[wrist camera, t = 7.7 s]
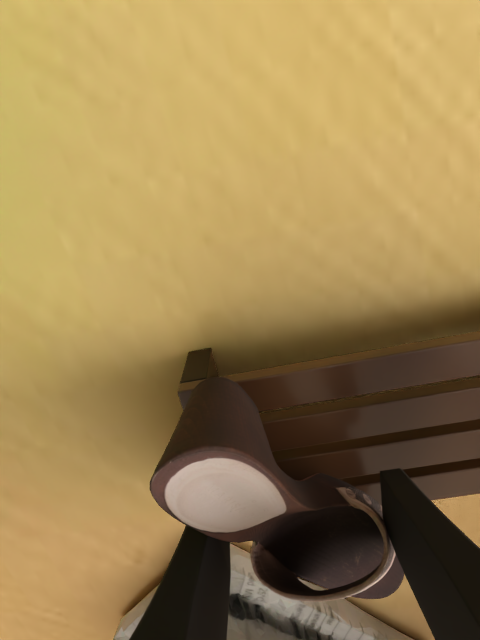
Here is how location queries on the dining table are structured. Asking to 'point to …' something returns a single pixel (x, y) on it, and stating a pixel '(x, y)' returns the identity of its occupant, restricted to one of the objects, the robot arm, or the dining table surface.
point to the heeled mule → (271, 503)
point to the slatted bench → (370, 414)
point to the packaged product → (279, 613)
